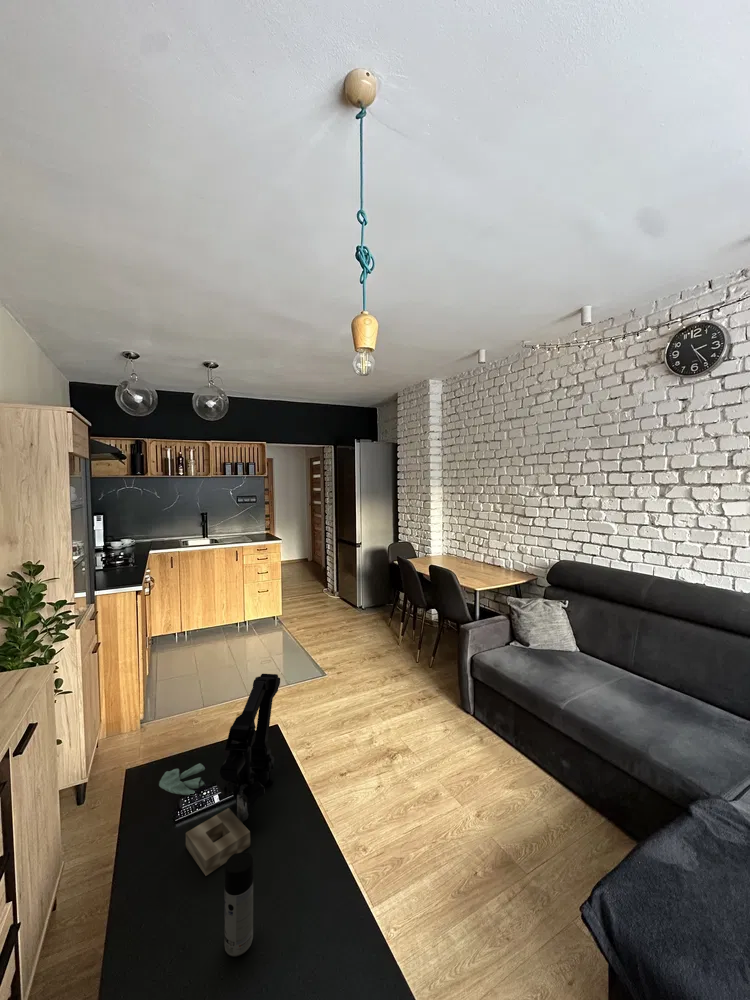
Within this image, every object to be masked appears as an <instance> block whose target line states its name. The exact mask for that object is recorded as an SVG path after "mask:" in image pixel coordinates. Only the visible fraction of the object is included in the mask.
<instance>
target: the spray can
mask: <svg viewBox="0 0 750 1000" xmlns="http://www.w3.org/2000/svg"><path fill="white" fill-rule="evenodd" d="M223 923H224V927H223V928H224V930H223V931H224V939H223V940H224V951H225V953H226V954H227V955H228V956H230V957H231V958H232V957H233V958H234V957H236V958H237V957H240V956H242V955H243V954H246V953H247V951H248V950H249V949H250V948H251V945H252V943H253V939H254V857H253V855H252V854H251V853H250V852H245V851H242V852H241V853H237V854H236V853H235V854H233V855H232V856H231V857H230V858H229V859H228V860H227V862H226V863H225V864H224V921H223Z"/></svg>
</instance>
